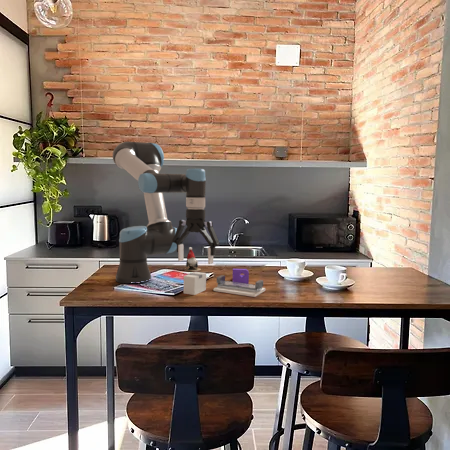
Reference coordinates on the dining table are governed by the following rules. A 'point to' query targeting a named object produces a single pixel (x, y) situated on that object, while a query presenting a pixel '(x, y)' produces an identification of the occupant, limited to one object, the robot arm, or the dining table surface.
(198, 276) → the block
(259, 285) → the rail
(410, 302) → the dining table surface
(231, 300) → the dining table surface
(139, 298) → the dining table surface
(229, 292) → the mount plate
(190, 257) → the figurine
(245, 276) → the bracket
